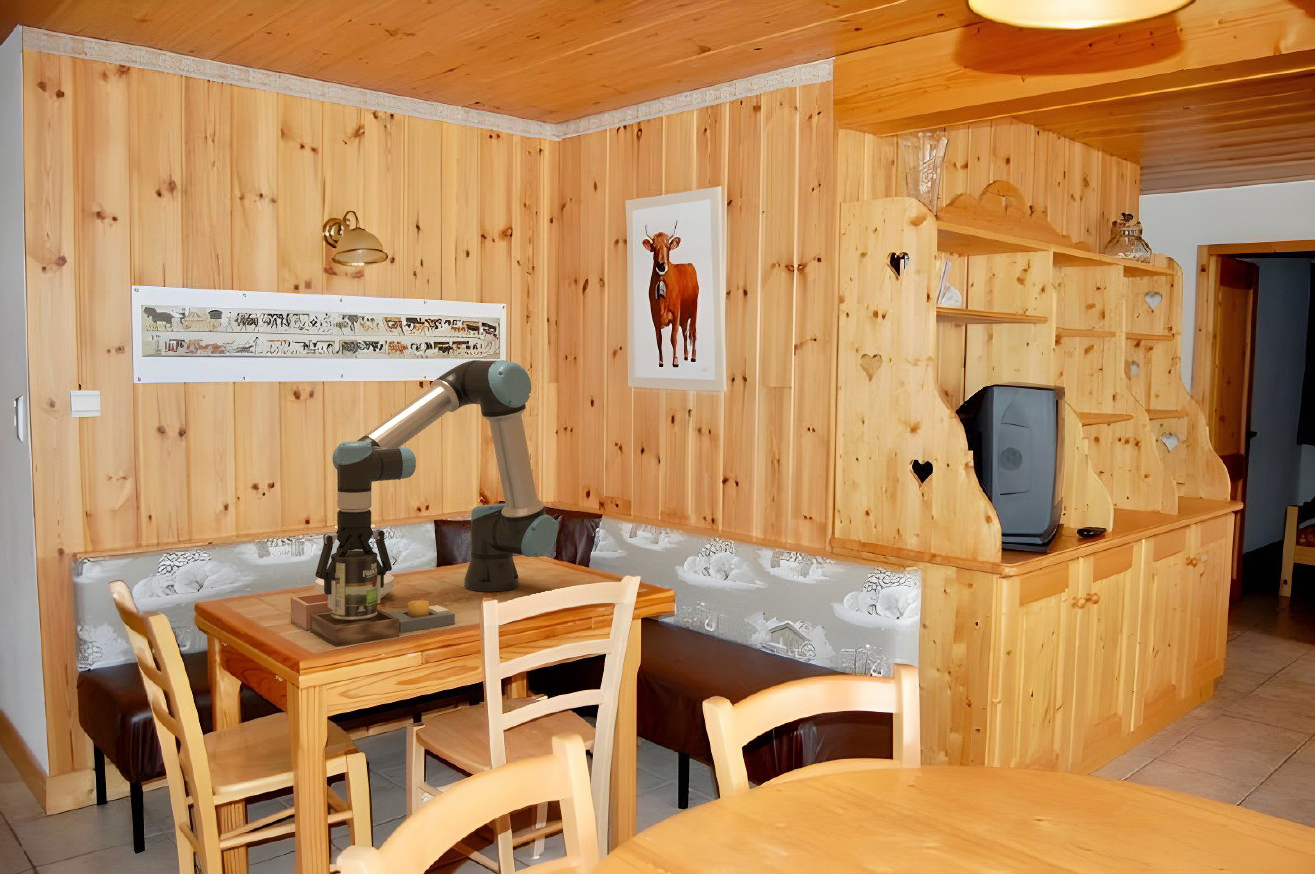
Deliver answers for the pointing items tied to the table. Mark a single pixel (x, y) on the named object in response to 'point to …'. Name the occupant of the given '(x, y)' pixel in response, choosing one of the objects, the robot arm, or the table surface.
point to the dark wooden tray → (354, 628)
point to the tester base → (424, 619)
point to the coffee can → (355, 585)
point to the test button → (418, 608)
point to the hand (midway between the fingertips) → (354, 605)
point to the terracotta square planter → (308, 608)
